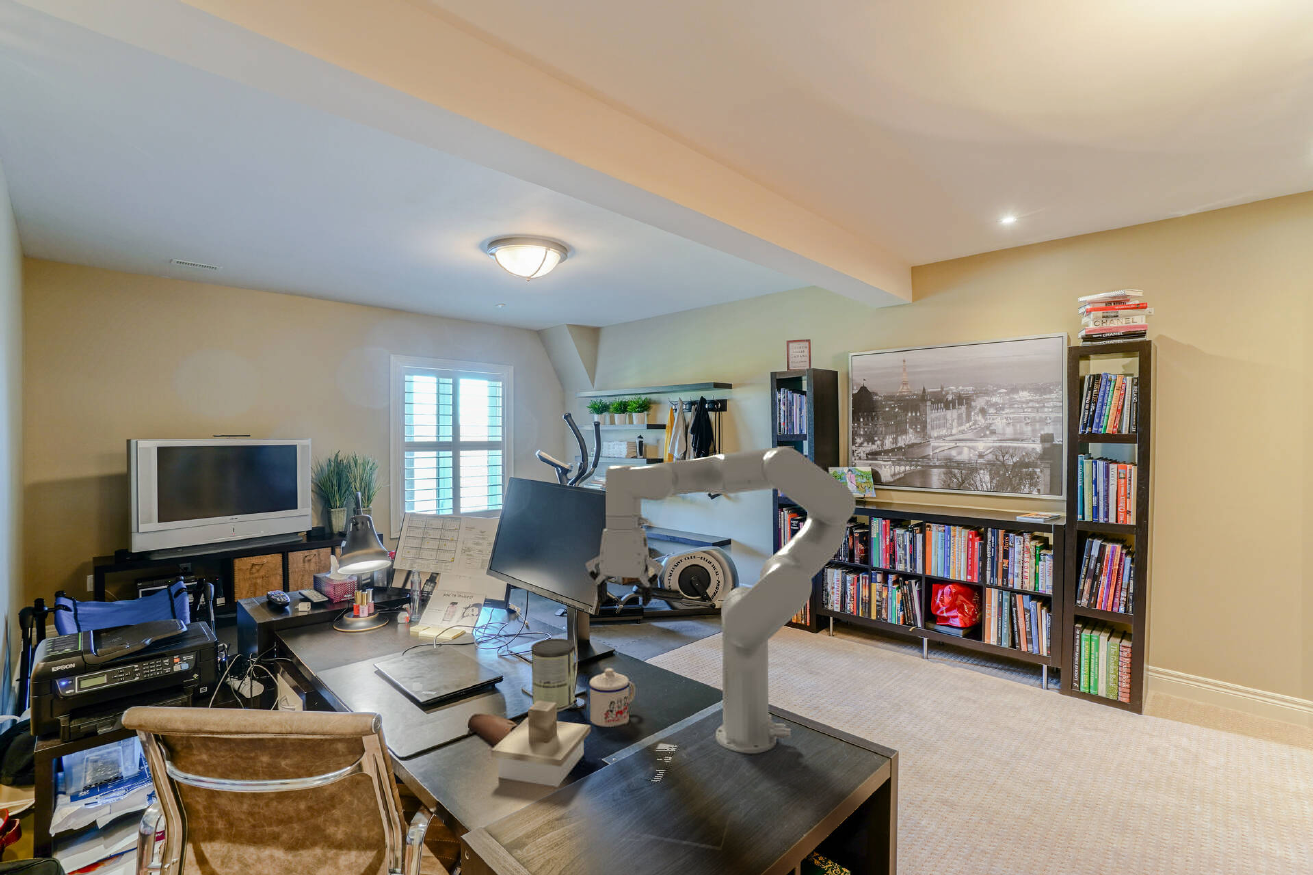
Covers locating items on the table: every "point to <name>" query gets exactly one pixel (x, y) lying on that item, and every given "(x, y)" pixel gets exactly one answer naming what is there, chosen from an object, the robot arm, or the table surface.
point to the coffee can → (553, 672)
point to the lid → (542, 737)
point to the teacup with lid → (610, 698)
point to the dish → (538, 769)
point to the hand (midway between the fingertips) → (624, 603)
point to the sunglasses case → (491, 727)
